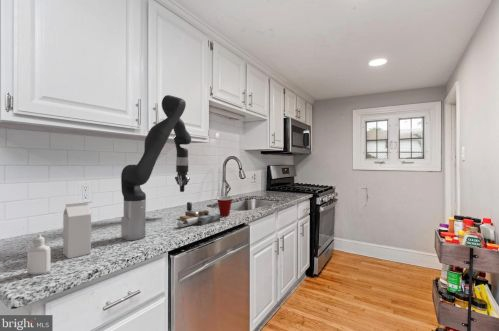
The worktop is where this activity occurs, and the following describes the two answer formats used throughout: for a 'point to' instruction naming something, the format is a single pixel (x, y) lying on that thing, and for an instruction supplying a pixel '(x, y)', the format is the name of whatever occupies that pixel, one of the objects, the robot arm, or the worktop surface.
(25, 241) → the worktop surface
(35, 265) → the eye dropper bottle
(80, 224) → the milk carton
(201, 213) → the lock plate
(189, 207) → the bolt
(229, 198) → the plastic cup
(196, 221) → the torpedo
